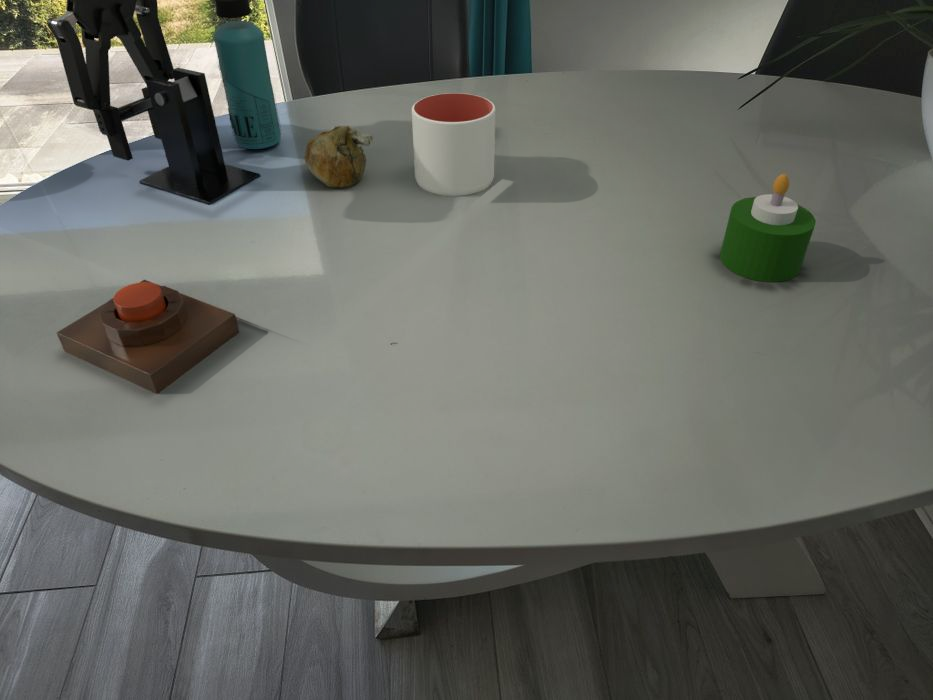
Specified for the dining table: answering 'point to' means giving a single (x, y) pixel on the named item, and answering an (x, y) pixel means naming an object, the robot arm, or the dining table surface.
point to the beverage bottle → (246, 77)
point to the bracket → (191, 143)
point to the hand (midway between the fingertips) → (144, 147)
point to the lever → (146, 104)
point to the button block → (150, 339)
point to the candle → (767, 236)
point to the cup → (454, 143)
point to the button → (139, 302)
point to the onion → (337, 156)
